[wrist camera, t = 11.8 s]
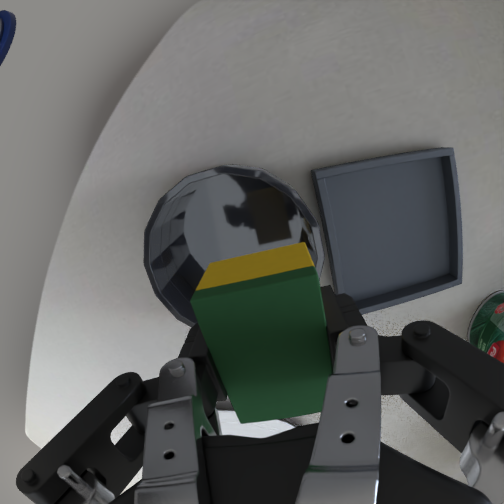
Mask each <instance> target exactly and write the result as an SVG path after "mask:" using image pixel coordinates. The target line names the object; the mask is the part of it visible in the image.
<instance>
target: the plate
mask: <svg viewBox="0 0 504 504" xmlns="http://www.w3.org/2000/svg"><path fill="white" fill-rule="evenodd" d="M217 411H218V414H219V420H220V425H221V431H222V435H237V436H245V437H254V438H265V437H269V436H272V435H275V434H278V433H281V432H284V431H287V430H290V429H292V428H295V426H294V425H292V424H290V423H288V422H286V421H283V420H280V419H278V420H271V421H263V422H255V423H246V424H241V423H240V421H239V419H238V417H237V415H236V413H235V411H234V410H221V409H217Z"/></svg>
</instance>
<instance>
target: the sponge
mask: <svg viewBox="0 0 504 504" xmlns="http://www.w3.org/2000/svg"><path fill="white" fill-rule="evenodd" d="M190 302H191V305H192V308H193V311H194V313H195V316H196V319H197V321H198V324H199V327H200V329H201V332H202V334H203V337H204V339H205V342H206V344H207V347H208V348H209V350H210V353H211V355H212V358H213V360H214V363H215V365H216V367H217V370H218V372H219V375H220V377H221V379H222V382H223V384H224V386H225V389H226V391H227V395H228V397H229V399H230V402H231V404H232V406H233V408H234V411H235V413H236V415H237V417H238V419H239V421H240V423H241V424H246V423H255V422H263V421H271V420H278V419H284V418H291V417H297V416H302V415H308V414H313V413H318V412H321V411H322V406H323V401H324V395H325V390H326V384H327V379H328V375H329V374H333V372H332V364H331V357H330V350H329V343H328V336H327V330H326V326H327V324H326V318H325V312H324V305H323V300H322V294H321V288H320V282H319V277H318V273H317V271H316V268H315V266H314V263H313V261H312V259H311V256H310V254H309V251H308V249H307V247H306V244H305V242H301V243H297V244H293V245H288V246H284V247H279V248H275V249H270V250H266V251H261V252H257V253H253V254H248V255H244V256H239V257H235V258H230V259H226V260H221V261H217V262H213V263H210V264H209V266H208V268H207V269H206V271H205V273H204V275H203V277H202V279H201V281H200V283H199V284H198V286H197V288H196V291H195V292H194V294H193V296H192V298H191V300H190Z"/></svg>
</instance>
